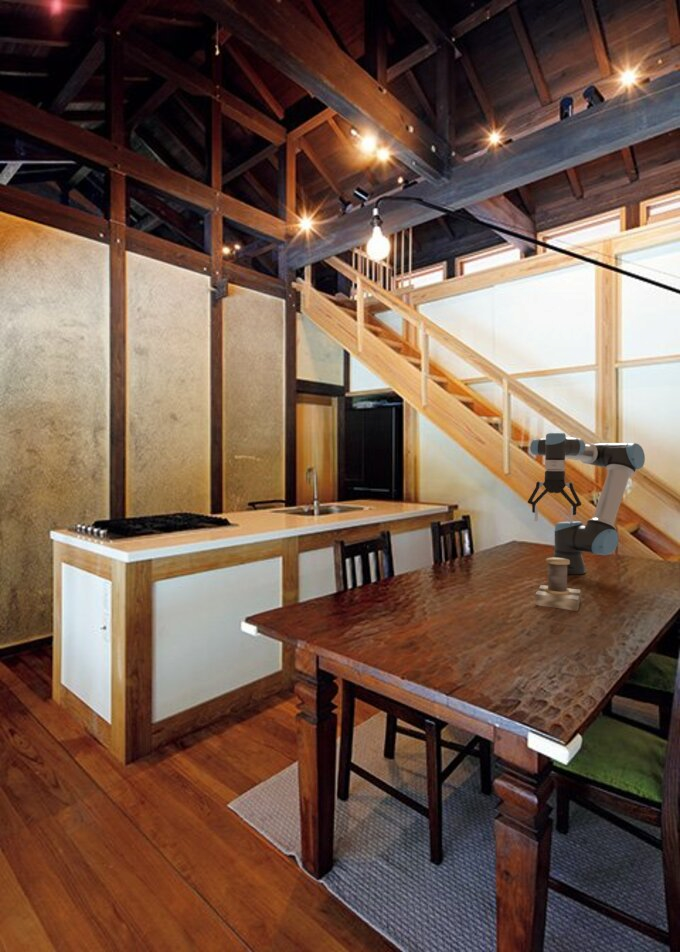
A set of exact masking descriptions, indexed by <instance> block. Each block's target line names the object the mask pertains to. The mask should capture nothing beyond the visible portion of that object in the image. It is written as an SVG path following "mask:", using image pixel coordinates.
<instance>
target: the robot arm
mask: <svg viewBox="0 0 680 952" xmlns="http://www.w3.org/2000/svg"><path fill="white" fill-rule="evenodd" d="M529 448H530V452H531V454H533V455H534V456H539V457H540V456H545V461H544V469H545V471H544V481H543V482H541V481H537V482H536V483H535V488H534V489H533V491H532V492H531V495H530V497H529V498H528V500H527V503H528V504H530V505H531V506H532V507H531V508H532V509H531V513H534V521H535V522H537V521H538V517H539V516H538V515H539V510H538V509H539V505H538V502H540V500H541V499H542V498H543V497H545V495H547V493H550V494H560V493H561V495H562V496H563V497H564V498H565V499H566V501H568V502H569V504H570V505H571V507H570V521H559V522H556V523H555V526H554V532H553V533H554V547H553V548H554V549H553V550H554V553H553V556H552V557H555V558H564V559H568V560H570V564H569V565H567V575H583V574H585V573H586V568H587V567H586V565H585V562H584V558H583V555H582V554H583V553H582V552H585V553H589V554H594V555H597V556H600V555H601V556H608V555H611V554H612V553H613V552H615V550H616V548H617V547H618V544H619V534H618V531H616V529H617V528H616V527H615V524H614V523H615V521H616V517H617V514H618V512H619V510H620V509H619V508H620V505H621V502H622V500H623V496H624V494H625V491H626V488H627V485H628V481H629V478H630V477H632V476H634V475H635V472H636V470H641V469H642V468H643V467H644V465H645V461H646V458H645V456H646V455H645V451H644V449H643V447H642V446H641V445H640V444H639V443H636V442H607V443H606V442H605V443H604V442H603V443H586V442H585V441H584V440H583V439H581V438H579V437H566V433H565V432H548V433H546V434H545V438H543V437H542V438H541V437H540V438H535V439H533V440H531V442H530V447H529ZM566 459H567V460H574V461H580V462H581V463H583V464H587V465H591V466H596V467H599V468H606V470H607V471H608V472H607V475H606V478H605V481H604V484H603V485H602V486H603V487H602V490H601V491H600V492H601V493H600V496H599V498H598V502H597V504H596V507H595V510H594V513H593V516H592V518H589V519H588V520H587V521H586V525H584V524H583V521H574V516H576V515H577V507H580V506H581V505H582V501H581V500H580V498H579V496H578V494H577V492H576V490H575V488H574V483H573V482H565V481H566V480H565V478H566V477H565V473H566V472H565V471H564V470H566ZM542 486H543V487H544V490H543V491H542V492H541V493H540V495H539V496H537V498H535V497H536V495H537V493H538V491H539V490H540V488H542ZM565 487H567V488H568V489H569V490H570V492H571V494H572V496H573V498H574V500H575V501H574V500H573V498H571V497H570V495H569V494H568V493H567V492H566V490H564V489H565ZM534 498H535V500H534ZM533 500H534V501H533ZM575 502H576V503H575Z"/></svg>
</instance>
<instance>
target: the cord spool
mask: <svg viewBox="0 0 680 952" xmlns="http://www.w3.org/2000/svg"><path fill="white" fill-rule="evenodd" d="M545 562H546V563H547V564H548V565H547V566H548V572H547V574H548V575H547V576H548V577H547V586H548V587H546V592H548V593H550V594H555V595H567V594H569V589H567V588H568V574H567V565H569V564H570V560H568V559H564V558H555V557H553V556H552V557H547V558H545Z"/></svg>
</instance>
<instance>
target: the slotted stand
mask: <svg viewBox="0 0 680 952" xmlns="http://www.w3.org/2000/svg"><path fill="white" fill-rule="evenodd" d="M546 587H548V585H545V584H540V586H539V587H538V590H537V591H536V593H535V602H534V604H535V606H540V607H547V608H556V609H560V610H568V611H576V612H578V611H579V607H580V606H579V605H580V604H581V603H580V602H581V593H582V591H581V589H578V588H577V589H576V588H569V587H567V589H569V594H567V595H555V594H550V593H548V592H546Z"/></svg>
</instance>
